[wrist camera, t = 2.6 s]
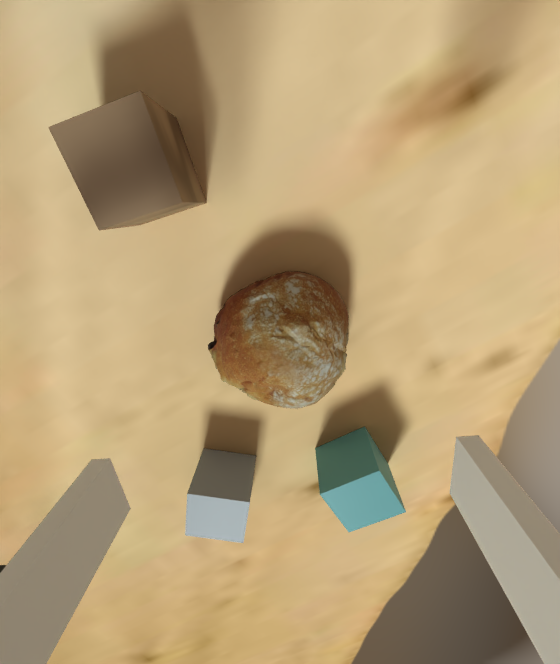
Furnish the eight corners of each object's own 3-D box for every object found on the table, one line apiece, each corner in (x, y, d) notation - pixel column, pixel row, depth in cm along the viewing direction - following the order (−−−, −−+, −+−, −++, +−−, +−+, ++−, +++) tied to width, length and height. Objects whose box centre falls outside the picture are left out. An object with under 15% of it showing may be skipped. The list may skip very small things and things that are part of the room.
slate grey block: (203, 447, 29) (187, 493, 24) (256, 455, 29) (249, 502, 24) (201, 485, 31) (185, 535, 26) (250, 492, 31) (243, 542, 26)
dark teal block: (315, 447, 28) (319, 494, 24) (364, 425, 27) (379, 470, 23) (340, 482, 30) (348, 532, 25) (387, 462, 29) (405, 511, 24)
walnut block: (105, 145, 20) (48, 127, 15) (176, 118, 19) (140, 90, 14) (140, 224, 21) (99, 230, 17) (206, 202, 21) (182, 202, 16)
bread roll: (324, 361, 29) (382, 403, 22) (219, 400, 26) (248, 462, 19) (311, 256, 25) (376, 266, 18) (188, 286, 22) (209, 311, 15)
